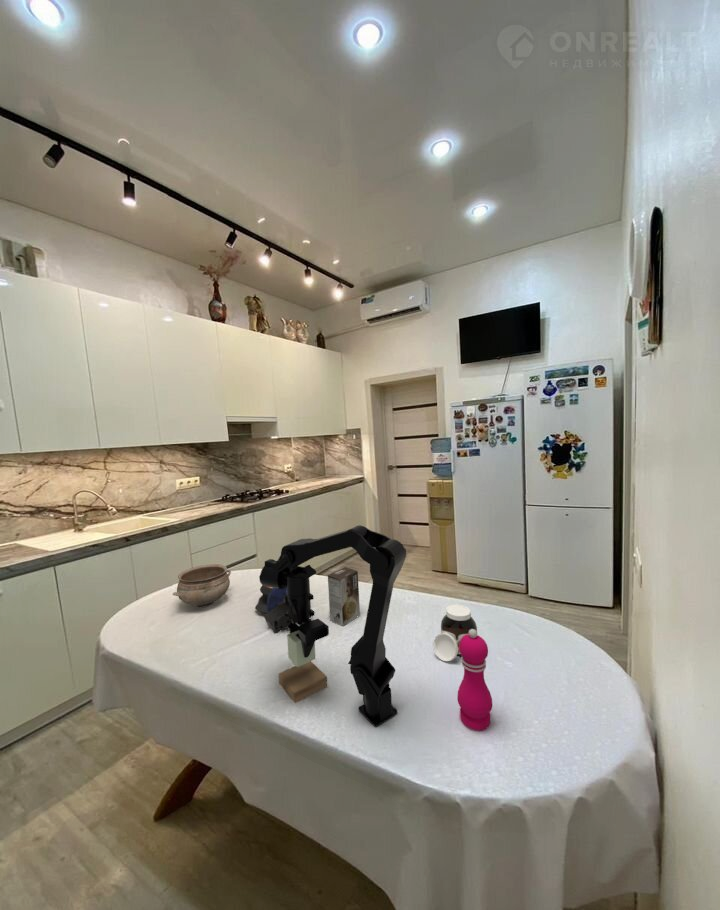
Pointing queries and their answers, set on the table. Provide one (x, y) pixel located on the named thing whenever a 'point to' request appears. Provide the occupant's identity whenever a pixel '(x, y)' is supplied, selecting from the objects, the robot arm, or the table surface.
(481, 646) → the pepper mill
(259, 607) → the casserole
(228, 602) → the table surface
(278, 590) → the decorative orb
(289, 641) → the sage cube
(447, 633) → the spread jar
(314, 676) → the walnut block
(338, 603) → the coffee box
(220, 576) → the cooking pot
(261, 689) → the table surface
